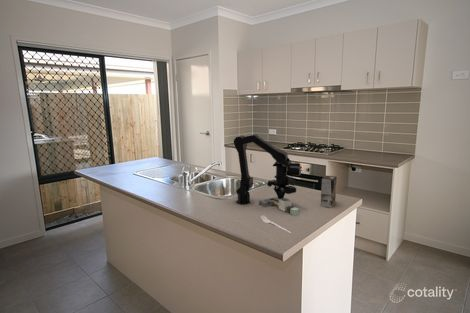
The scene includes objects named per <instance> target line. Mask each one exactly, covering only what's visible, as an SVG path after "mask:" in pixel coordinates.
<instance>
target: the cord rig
mask: <svg viewBox="0 0 470 313" xmlns="http://www.w3.org/2000/svg"><path fill="white" fill-rule="evenodd" d="M258 205H259V206H262V207H263V208H266V207H272V206H277V207H279V198H278V196H274V197H268V198H265V199H261V200H258ZM299 212H300V208H298V207H296V206H294V205H292V206H290V207H286V213H287V214H290V215H292V216H297V215H300V213H299Z"/></svg>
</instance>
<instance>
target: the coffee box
mask: <svg viewBox="0 0 470 313" xmlns="http://www.w3.org/2000/svg"><path fill="white" fill-rule="evenodd" d="M337 179H338V178H337V176H335V175H324V176H323V178H321V192H320V193H321V194H320V206H321V207H324V208H333V207H334V205H335V204H336V196H337V195H336V192H337Z"/></svg>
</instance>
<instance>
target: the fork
mask: <svg viewBox="0 0 470 313" xmlns="http://www.w3.org/2000/svg"><path fill="white" fill-rule="evenodd" d="M260 218H261V220H262V221H263V222H264V223H267V224H272V225H273V226H275V227H277V228H279V229H282V230H283V231H286V232H287V233H289V234H291V231H289V230H287V229H286V228H284V227H283V226H280V225H279V224H277V223H275V222H273V221H272V220H269V219H268V217H266V216H265V215H262V216H260Z"/></svg>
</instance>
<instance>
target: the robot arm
mask: <svg viewBox="0 0 470 313" xmlns="http://www.w3.org/2000/svg"><path fill="white" fill-rule="evenodd" d="M233 143H234V144H233V145H234V148H235V149H236V152H237V154H238V161H239V162H238V163H239V168H240V175H241V176H240V181H239V187H238V188H237V189H236V191H235V192H236V194H237V200H236V203H237V204H240V205H242V206H243V205H248V204H251V202H252V201H251V199H250V197H251V195H250V190H251V189H253V187H254V177H253V176H251V175H250V172H249V164H248V158H247V147H248V144H250V143H254V144H255V145H257V146H258V147H259V148H261V149H262V150H263V151H265V152H267V153H268V154H270V155H271V157H272V158H273V160H274V163H273V164H272V167H276V168H275V172H276V173H275V174H276V175H274V178H275V179H272V180H268V181H267V184H266V185H267V186H268V187H269V188H270V187H272V186H274V187H273V191H274V192H275V194H276V197H278V198H279V199H283V198H285V195H286V194H287V195H291V194H296V193H297V188H296V186H295V183H296V180H295V179H292V178H289V176H297V177H300V176H301V174H302V166H301V163H300V162H292V161H291V160H290V157H289V154H288V153H287V152H286V151H285V150H282V149H280V148H276V147H275V146H273V145H272V144H270V142H268V141H266V140H265V139H263V138H262V137H261V136H259V135H258V134H255V133H254V134H251V135H247V136H245V135H239V136H237V137H235V138H234V139H233Z"/></svg>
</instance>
